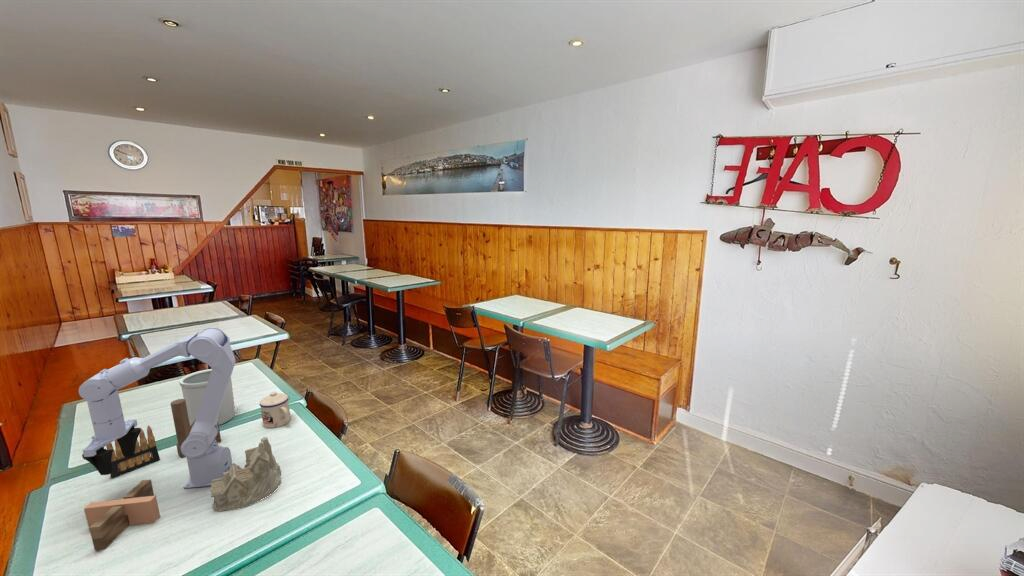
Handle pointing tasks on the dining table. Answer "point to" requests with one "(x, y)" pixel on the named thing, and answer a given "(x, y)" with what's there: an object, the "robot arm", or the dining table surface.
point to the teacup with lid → (275, 410)
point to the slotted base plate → (116, 518)
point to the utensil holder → (195, 391)
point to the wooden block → (184, 423)
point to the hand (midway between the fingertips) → (118, 464)
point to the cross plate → (126, 509)
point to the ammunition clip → (137, 456)
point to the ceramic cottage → (247, 480)
